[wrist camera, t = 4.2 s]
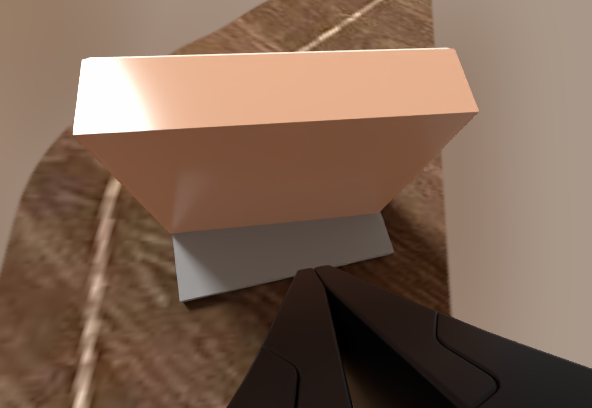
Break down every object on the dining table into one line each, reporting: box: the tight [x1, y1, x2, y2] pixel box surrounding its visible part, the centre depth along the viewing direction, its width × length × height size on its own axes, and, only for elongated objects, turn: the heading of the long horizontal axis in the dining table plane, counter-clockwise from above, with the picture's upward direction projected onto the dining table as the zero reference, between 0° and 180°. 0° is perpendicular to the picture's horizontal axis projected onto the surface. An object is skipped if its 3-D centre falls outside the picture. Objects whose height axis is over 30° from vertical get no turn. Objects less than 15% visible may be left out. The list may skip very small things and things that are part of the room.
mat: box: [172, 212, 394, 302], centre depth 18 cm, size 9×11×1 cm
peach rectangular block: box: [73, 48, 479, 234], centre depth 13 cm, size 2×11×9 cm, turn 98°
